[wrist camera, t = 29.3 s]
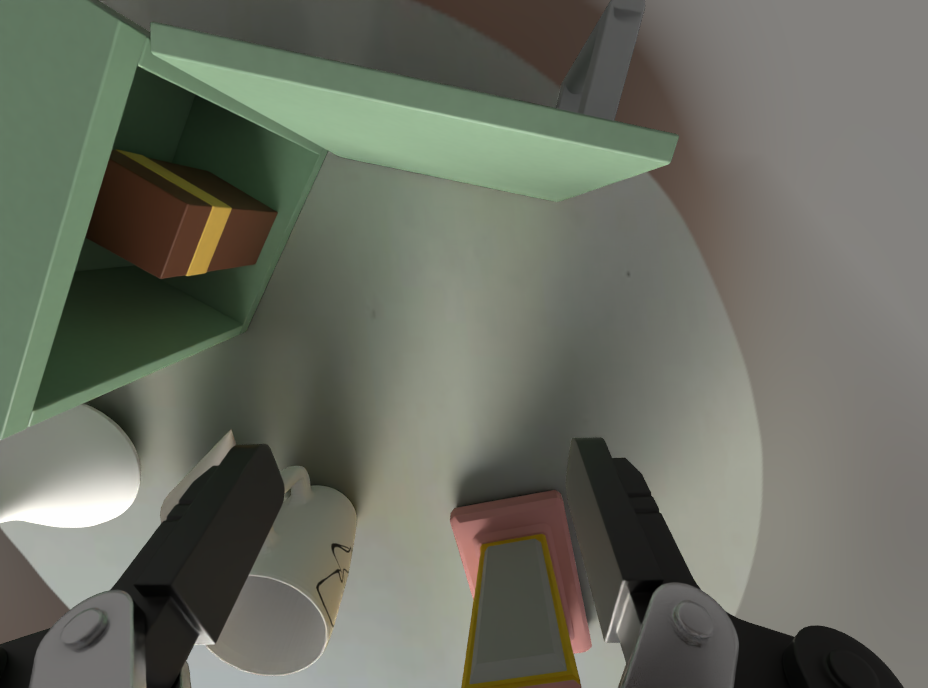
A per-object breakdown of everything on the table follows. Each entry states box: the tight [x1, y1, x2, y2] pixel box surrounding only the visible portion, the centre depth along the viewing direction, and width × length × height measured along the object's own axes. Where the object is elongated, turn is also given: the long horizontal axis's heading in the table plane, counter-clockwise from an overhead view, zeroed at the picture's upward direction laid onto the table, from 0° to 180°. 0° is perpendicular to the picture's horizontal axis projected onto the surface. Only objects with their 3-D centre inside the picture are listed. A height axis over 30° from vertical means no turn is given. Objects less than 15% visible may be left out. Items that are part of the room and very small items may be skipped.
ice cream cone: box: [160, 430, 236, 523], centre depth 30 cm, size 6×6×15 cm
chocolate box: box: [85, 149, 278, 279], centre depth 22 cm, size 5×4×8 cm
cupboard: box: [0, 0, 328, 440], centre depth 19 cm, size 9×15×16 cm, turn 149°
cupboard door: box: [150, 0, 679, 202], centre depth 17 cm, size 6×15×16 cm, turn 79°
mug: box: [205, 466, 357, 676], centre depth 28 cm, size 11×8×10 cm
